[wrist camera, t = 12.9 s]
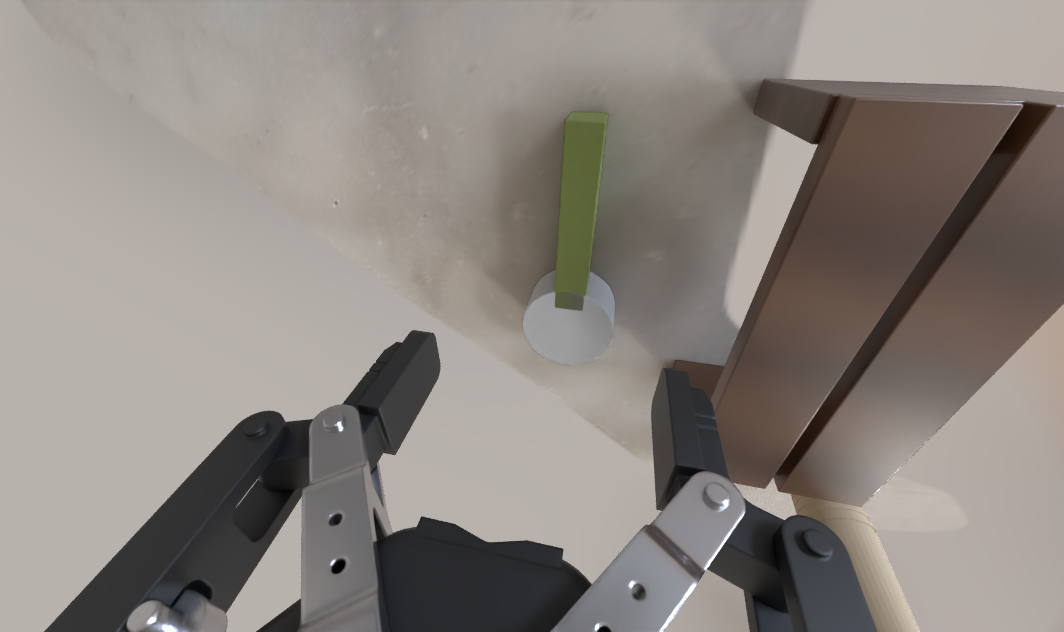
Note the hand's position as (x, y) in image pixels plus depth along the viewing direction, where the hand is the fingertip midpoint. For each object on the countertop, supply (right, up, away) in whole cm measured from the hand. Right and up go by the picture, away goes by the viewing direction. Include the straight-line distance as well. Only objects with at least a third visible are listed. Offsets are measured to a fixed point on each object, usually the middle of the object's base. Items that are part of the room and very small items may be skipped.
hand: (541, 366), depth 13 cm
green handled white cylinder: (+2, +6, +10) cm, 12 cm away
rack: (+14, +4, +8) cm, 17 cm away
